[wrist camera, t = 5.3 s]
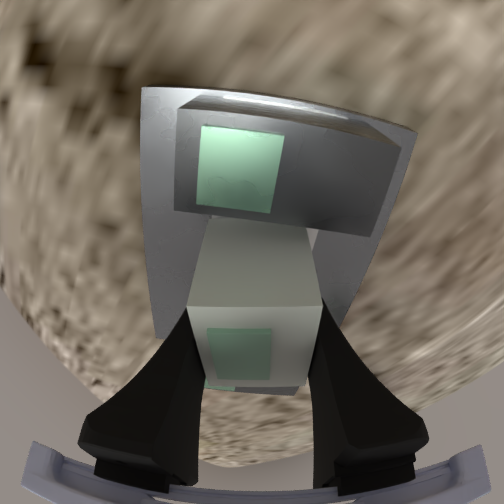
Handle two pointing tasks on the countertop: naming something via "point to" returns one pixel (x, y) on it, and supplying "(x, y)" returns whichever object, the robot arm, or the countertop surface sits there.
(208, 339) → the module
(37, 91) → the countertop surface
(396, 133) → the board
